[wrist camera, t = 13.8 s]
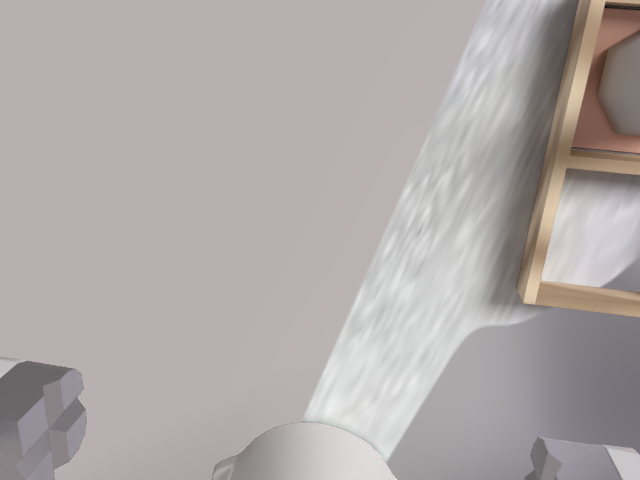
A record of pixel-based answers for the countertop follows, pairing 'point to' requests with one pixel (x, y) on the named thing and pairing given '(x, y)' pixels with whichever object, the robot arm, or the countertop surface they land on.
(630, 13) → the oak caddy
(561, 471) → the robot arm
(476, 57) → the countertop surface
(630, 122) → the flask
